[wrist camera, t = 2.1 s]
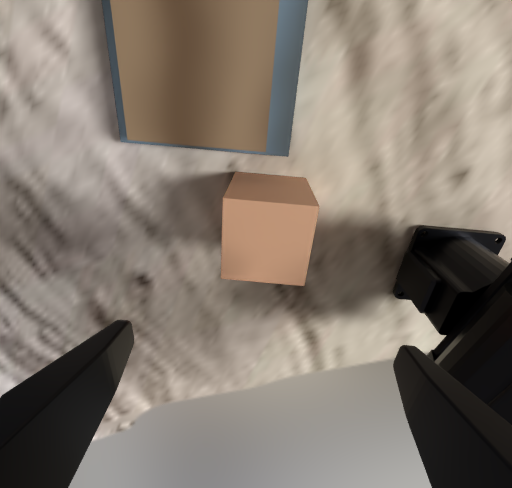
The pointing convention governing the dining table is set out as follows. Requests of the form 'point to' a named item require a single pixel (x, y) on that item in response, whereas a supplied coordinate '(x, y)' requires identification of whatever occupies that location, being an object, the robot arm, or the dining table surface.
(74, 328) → the dining table surface
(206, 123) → the foundation block
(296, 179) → the terracotta cube
